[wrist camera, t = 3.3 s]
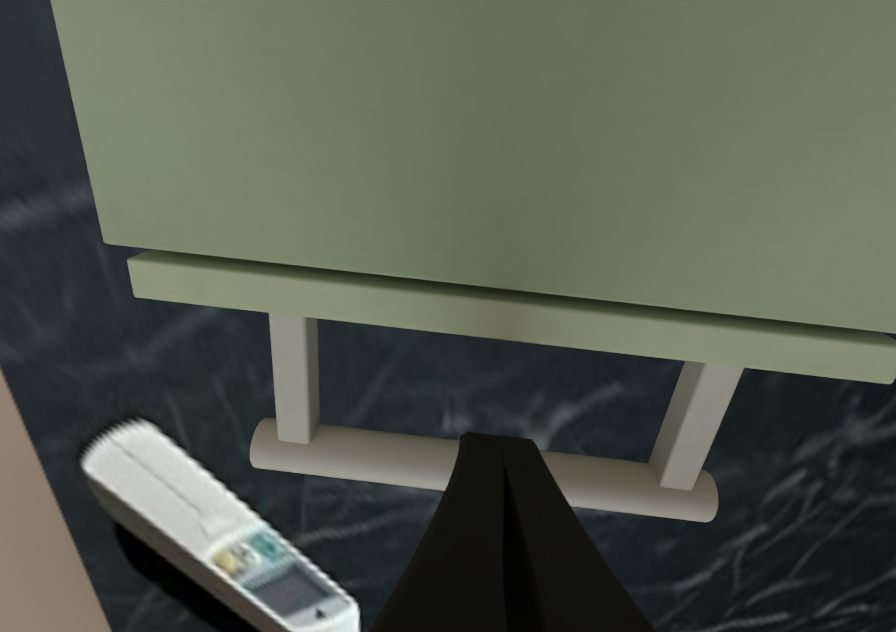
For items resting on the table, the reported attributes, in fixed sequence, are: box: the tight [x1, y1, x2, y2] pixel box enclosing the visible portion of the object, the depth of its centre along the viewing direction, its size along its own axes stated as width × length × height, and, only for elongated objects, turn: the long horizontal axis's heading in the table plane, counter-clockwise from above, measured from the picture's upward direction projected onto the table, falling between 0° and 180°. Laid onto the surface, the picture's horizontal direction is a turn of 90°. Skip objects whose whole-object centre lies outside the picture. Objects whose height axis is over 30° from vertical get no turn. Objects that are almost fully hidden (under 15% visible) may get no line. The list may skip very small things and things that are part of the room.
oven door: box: [127, 249, 896, 522], centre depth 13 cm, size 5×15×9 cm, turn 84°
